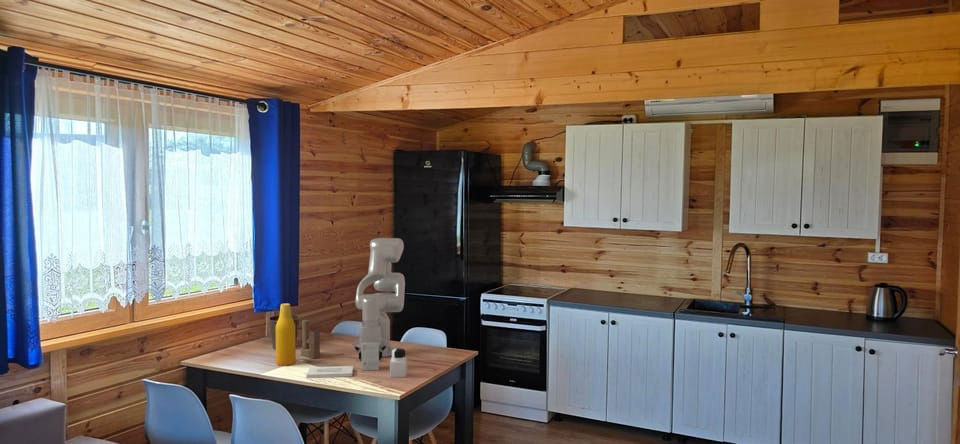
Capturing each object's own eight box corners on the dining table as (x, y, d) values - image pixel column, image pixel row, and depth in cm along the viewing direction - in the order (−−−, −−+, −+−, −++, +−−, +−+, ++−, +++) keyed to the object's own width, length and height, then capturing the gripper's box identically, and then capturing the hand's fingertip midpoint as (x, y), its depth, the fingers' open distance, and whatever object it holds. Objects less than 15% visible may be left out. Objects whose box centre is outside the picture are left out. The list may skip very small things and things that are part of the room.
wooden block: (314, 359, 322) (314, 323, 321) (300, 355, 328) (300, 320, 327) (320, 357, 325) (320, 322, 324) (306, 354, 331) (305, 319, 330)
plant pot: (291, 352, 335) (291, 321, 334) (262, 350, 338) (262, 320, 337) (305, 344, 351) (305, 315, 350) (277, 343, 354) (276, 313, 353)
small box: (379, 366, 309) (379, 339, 309) (378, 370, 303) (378, 342, 302) (362, 367, 309) (362, 340, 308) (361, 370, 302) (361, 343, 302)
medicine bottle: (406, 372, 299) (406, 347, 299) (405, 377, 292) (405, 351, 292) (391, 372, 299) (391, 347, 298) (389, 377, 292) (389, 351, 291)
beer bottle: (285, 360, 320) (285, 301, 318) (299, 362, 316) (299, 303, 314) (271, 364, 312) (271, 304, 310) (286, 367, 307) (285, 306, 306)
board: (353, 369, 305) (353, 365, 305) (351, 376, 293) (351, 373, 293) (309, 370, 302) (309, 367, 302) (306, 378, 290) (306, 374, 290)
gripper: (389, 321, 310) (389, 357, 310) (352, 322, 307) (352, 358, 308) (389, 324, 302) (389, 361, 303) (351, 325, 300) (351, 362, 301)
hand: (370, 359), depth 306 cm, fingers closed on small box, 8 cm apart
